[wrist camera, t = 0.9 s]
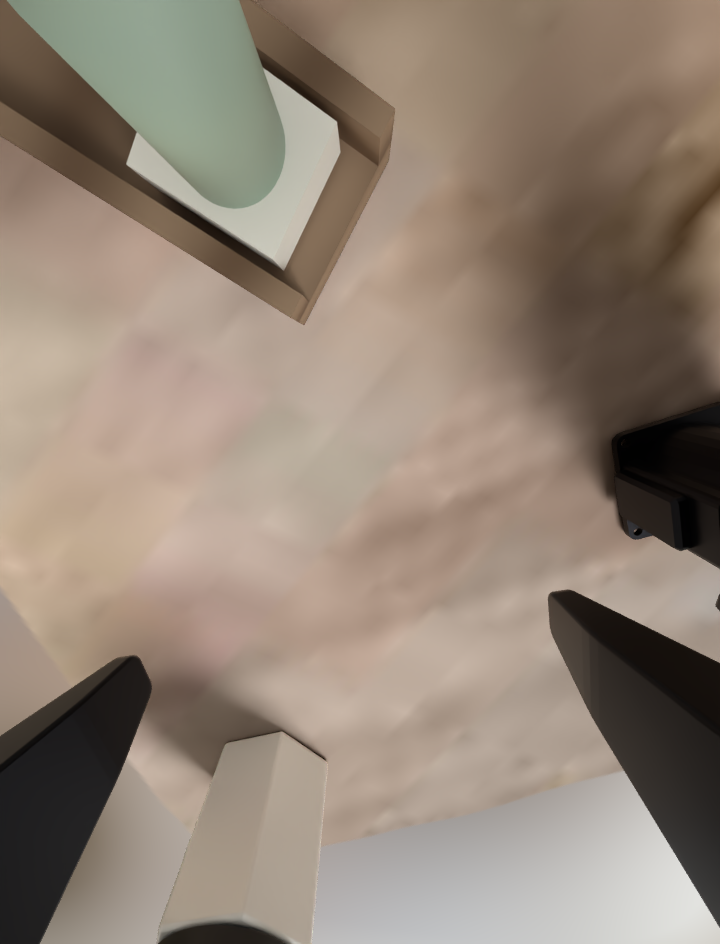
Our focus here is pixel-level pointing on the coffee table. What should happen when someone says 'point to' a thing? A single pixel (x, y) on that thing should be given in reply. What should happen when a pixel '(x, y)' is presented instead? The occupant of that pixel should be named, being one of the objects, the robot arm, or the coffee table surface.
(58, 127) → the brown wooden open box
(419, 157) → the coffee table surface
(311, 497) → the coffee table surface
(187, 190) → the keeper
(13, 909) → the robot arm
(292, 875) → the jar
